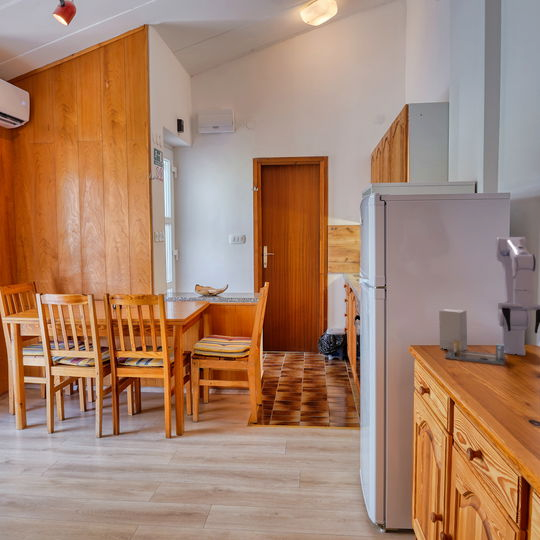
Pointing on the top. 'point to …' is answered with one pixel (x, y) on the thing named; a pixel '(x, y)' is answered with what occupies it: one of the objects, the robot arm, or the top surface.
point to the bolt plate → (472, 355)
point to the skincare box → (453, 328)
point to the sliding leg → (499, 350)
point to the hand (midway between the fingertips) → (522, 331)
